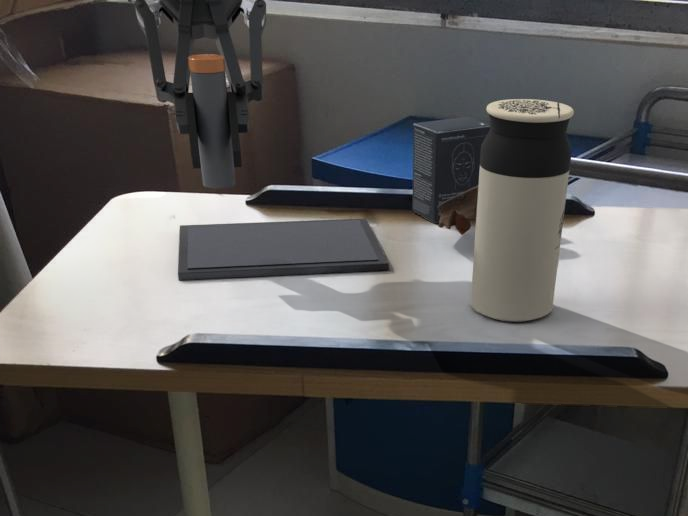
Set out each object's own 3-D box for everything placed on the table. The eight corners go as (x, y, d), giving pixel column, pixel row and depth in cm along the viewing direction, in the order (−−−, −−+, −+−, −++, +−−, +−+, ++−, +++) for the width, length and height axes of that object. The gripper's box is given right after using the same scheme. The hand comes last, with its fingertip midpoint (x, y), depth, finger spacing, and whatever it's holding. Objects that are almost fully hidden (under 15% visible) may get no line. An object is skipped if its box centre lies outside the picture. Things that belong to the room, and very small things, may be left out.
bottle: (202, 189, 92) (187, 59, 85) (202, 180, 95) (188, 54, 88) (236, 188, 93) (224, 59, 86) (235, 179, 96) (223, 53, 88)
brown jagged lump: (481, 271, 96) (451, 197, 94) (445, 282, 105) (416, 215, 103) (567, 226, 100) (540, 154, 97) (525, 241, 108) (499, 175, 106)
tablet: (178, 280, 91) (177, 272, 90) (180, 232, 104) (179, 224, 103) (389, 270, 95) (389, 262, 94) (366, 224, 107) (366, 217, 107)
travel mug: (462, 318, 84) (475, 112, 74) (479, 289, 91) (493, 95, 80) (545, 328, 83) (571, 119, 72) (557, 298, 89) (581, 102, 78)
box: (462, 204, 115) (467, 115, 109) (487, 216, 111) (493, 124, 105) (410, 212, 112) (412, 121, 105) (433, 224, 108) (437, 131, 102)
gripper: (275, -21, 97) (297, 178, 94) (120, -21, 94) (137, 183, 91) (275, -78, 90) (299, 135, 87) (107, -80, 87) (125, 140, 84)
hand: (216, 159), depth 89 cm, fingers closed on bottle, 3 cm apart
